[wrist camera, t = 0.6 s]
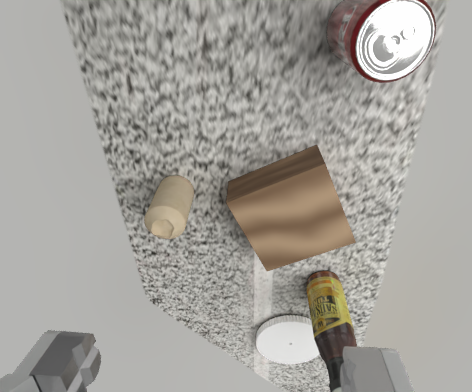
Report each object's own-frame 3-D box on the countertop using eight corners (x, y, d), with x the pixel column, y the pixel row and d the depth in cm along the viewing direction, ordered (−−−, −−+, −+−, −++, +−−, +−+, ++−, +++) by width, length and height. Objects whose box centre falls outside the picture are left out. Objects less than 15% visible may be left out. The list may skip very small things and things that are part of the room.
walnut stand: (228, 181, 50) (226, 203, 45) (317, 144, 47) (325, 163, 42) (265, 246, 57) (266, 271, 52) (345, 218, 53) (355, 242, 48)
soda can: (339, 72, 42) (368, 99, 32) (315, 16, 39) (338, 26, 28) (397, 39, 40) (448, 56, 29) (376, -23, 36) (426, -28, 26)
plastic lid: (313, 304, 65) (315, 315, 62) (330, 345, 71) (332, 357, 69) (246, 319, 68) (245, 330, 66) (268, 358, 74) (268, 369, 72)
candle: (200, 198, 52) (191, 238, 44) (170, 209, 54) (155, 250, 45) (183, 169, 50) (170, 206, 41) (152, 182, 51) (133, 220, 43)
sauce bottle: (324, 263, 59) (354, 374, 42) (346, 280, 61) (384, 393, 44) (296, 282, 61) (314, 393, 44) (319, 298, 63) (344, 410, 46)
